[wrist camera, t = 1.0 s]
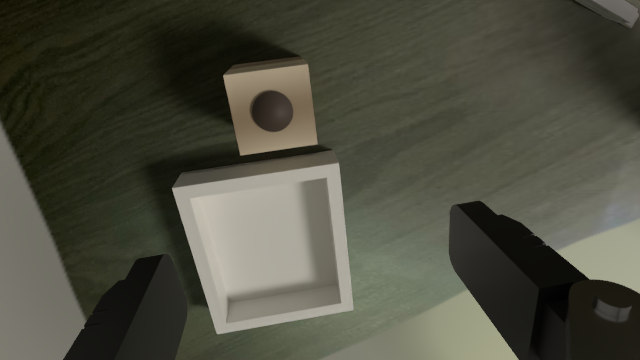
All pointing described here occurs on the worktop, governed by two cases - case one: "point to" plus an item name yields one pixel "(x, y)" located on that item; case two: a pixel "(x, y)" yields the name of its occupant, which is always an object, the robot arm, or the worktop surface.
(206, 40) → the worktop surface
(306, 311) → the tray
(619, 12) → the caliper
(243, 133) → the block
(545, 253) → the robot arm
